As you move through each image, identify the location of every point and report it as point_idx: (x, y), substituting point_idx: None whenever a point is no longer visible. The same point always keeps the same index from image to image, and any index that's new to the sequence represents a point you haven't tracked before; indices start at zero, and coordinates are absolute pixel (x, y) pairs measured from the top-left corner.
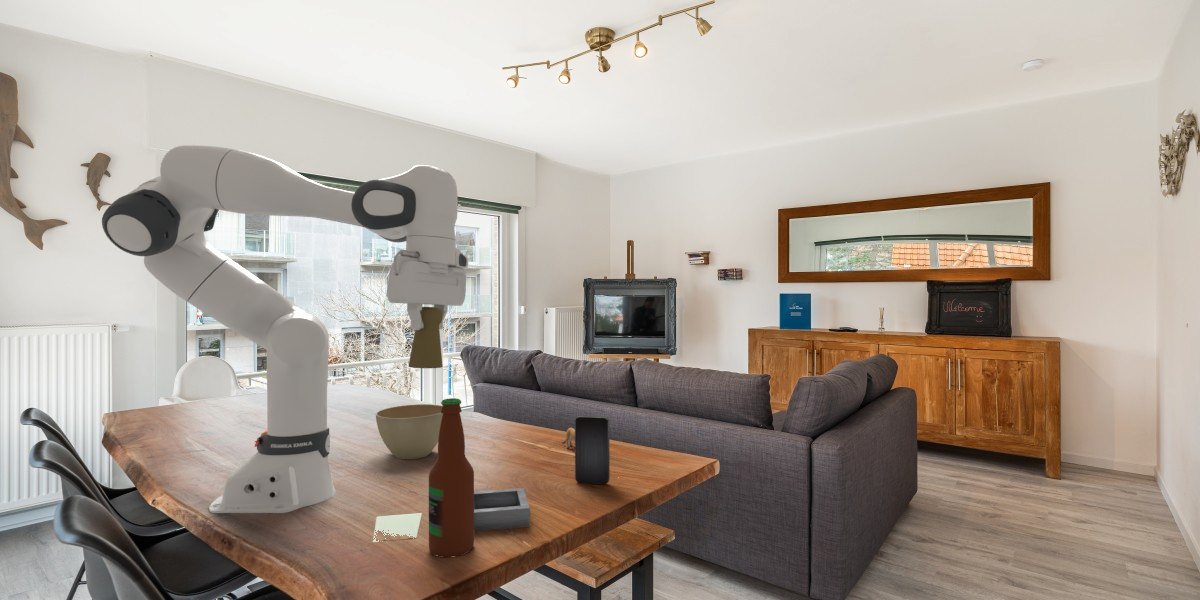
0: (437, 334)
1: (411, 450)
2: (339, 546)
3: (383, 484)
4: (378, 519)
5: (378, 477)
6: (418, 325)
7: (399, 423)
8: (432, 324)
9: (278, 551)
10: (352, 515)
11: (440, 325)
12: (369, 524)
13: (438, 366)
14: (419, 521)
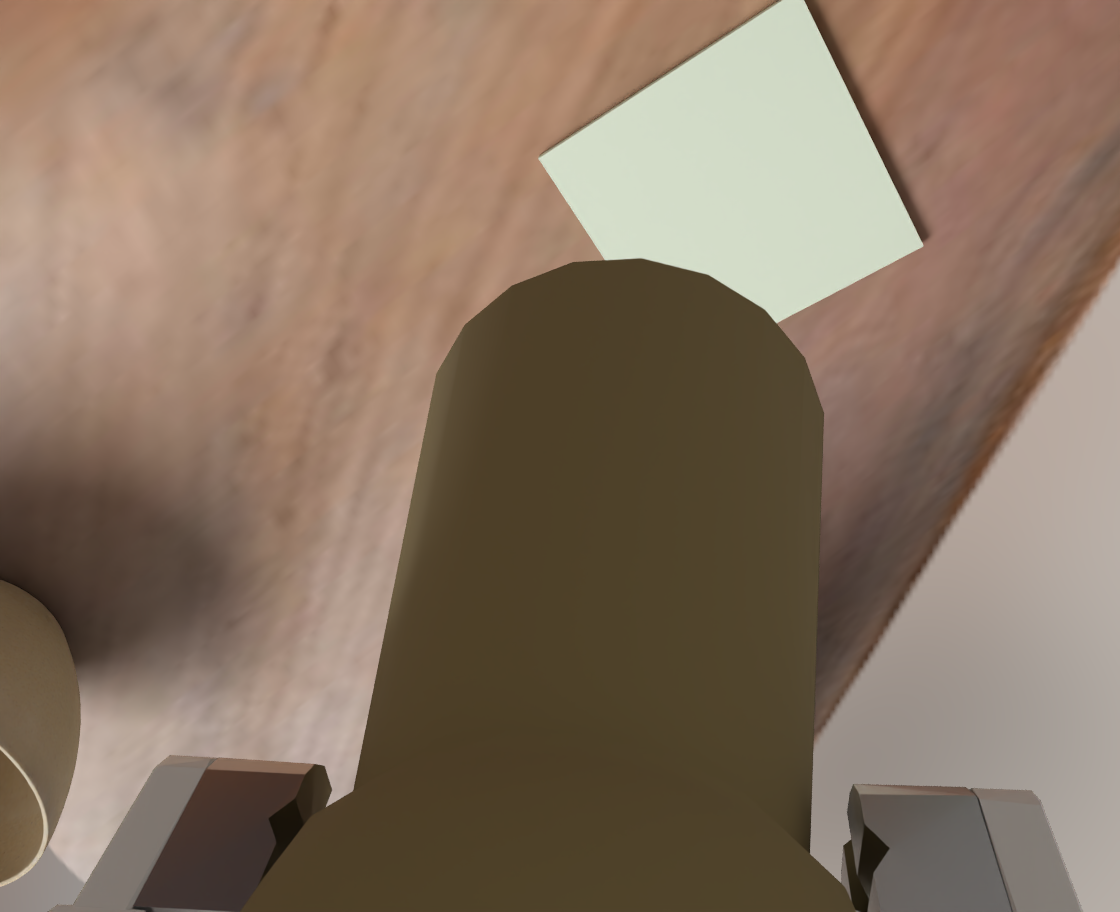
0: (585, 572)
1: (33, 617)
2: (911, 257)
3: (323, 518)
4: None
5: (271, 581)
6: (1051, 865)
7: (25, 737)
8: (702, 776)
9: (985, 419)
10: None
11: (232, 802)
12: None
13: (642, 268)
14: (627, 103)
